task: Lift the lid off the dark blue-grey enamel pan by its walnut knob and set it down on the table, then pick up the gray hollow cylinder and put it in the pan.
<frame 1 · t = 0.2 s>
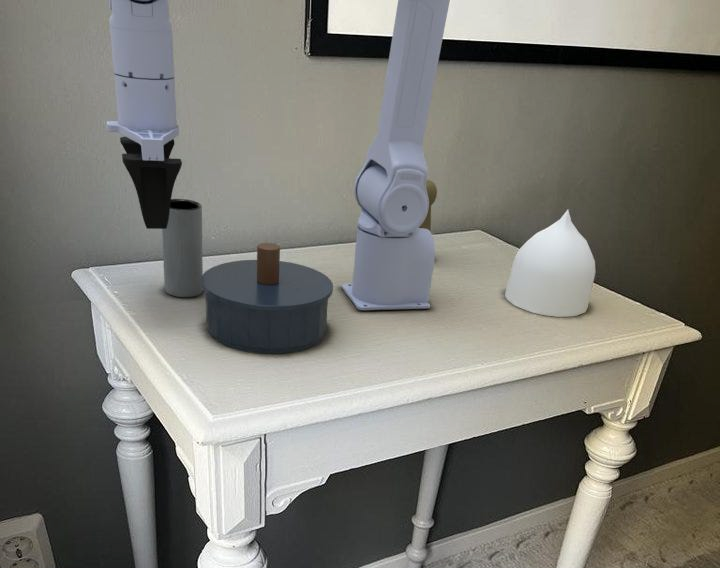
hand: (154, 217, 80), 10 cm above the table, tool pointing down, fingers open, 7 cm apart
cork: (409, 258, 109), on the table
gray hollow cylinder: (183, 292, 90), on the table, touching gripper
pan: (267, 328, 83), on the table
teardrop: (545, 302, 99), on the table
pan lid: (267, 285, 80), point 5 cm above the table, touching pan
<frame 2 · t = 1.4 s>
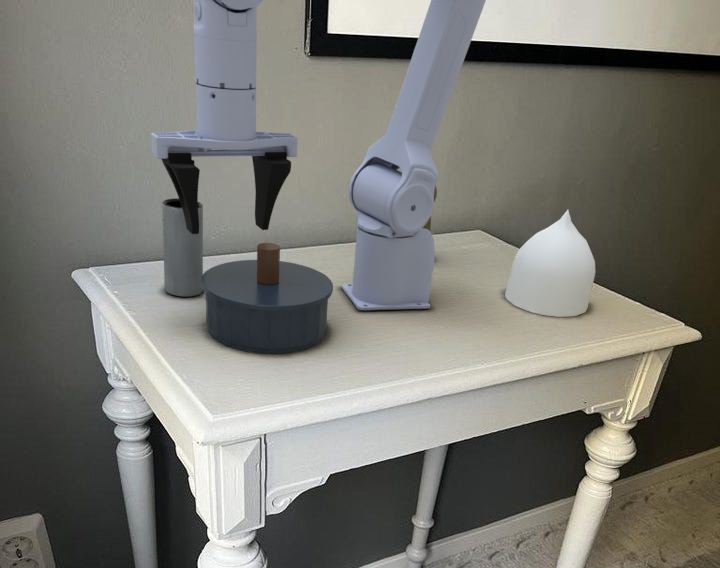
hand: (228, 229, 78), 10 cm above the table, tool pointing down, fingers open, 7 cm apart
gray hollow cylinder: (183, 292, 90), on the table
everything else where it was.
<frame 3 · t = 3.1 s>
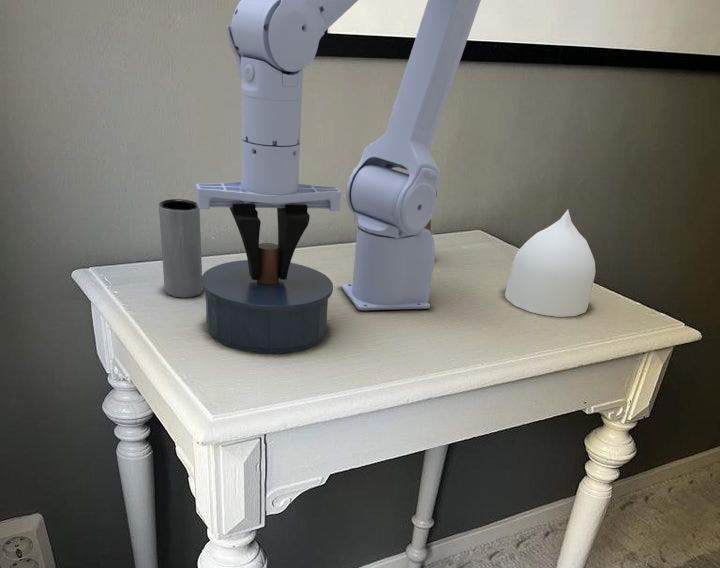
hand: (268, 276, 79), 6 cm above the table, tool pointing down, fingers closed on pan lid, 2 cm apart
pan lid: (267, 285, 80), point 5 cm above the table, touching gripper, pan
everything else where it was.
when the fingers open (2 cm above the table, at t = 7.8 s): pan lid stays where it is, point 1 cm above the table.
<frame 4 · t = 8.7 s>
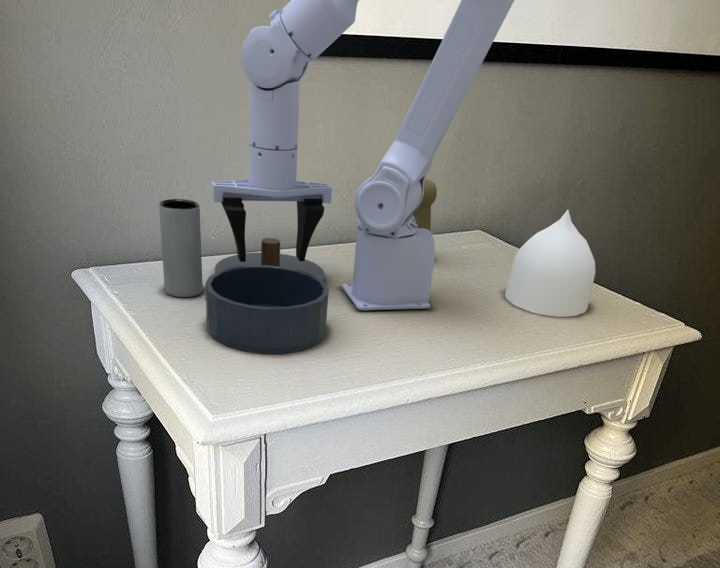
hand: (271, 259, 95), 3 cm above the table, tool pointing down, fingers open, 7 cm apart
pan lid: (270, 273, 96), point 1 cm above the table
everything else where it was.
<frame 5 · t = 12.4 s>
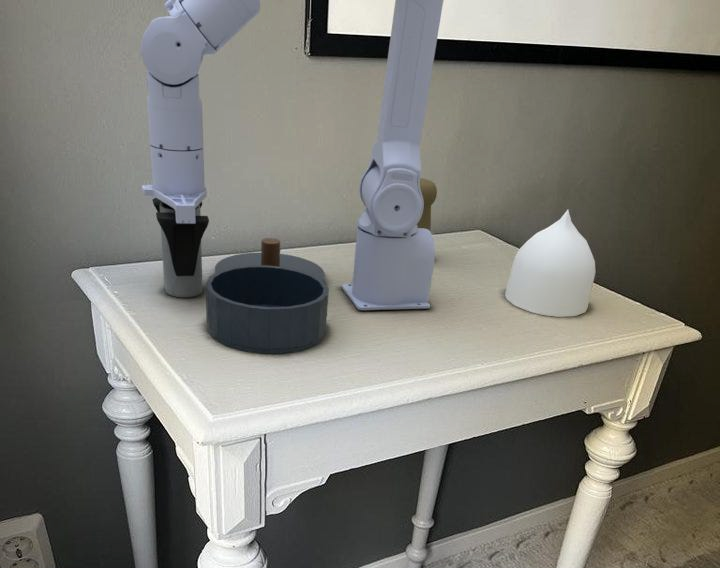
hand: (182, 267, 88), 3 cm above the table, tool pointing down, fingers closed on gray hollow cylinder, 4 cm apart
gray hollow cylinder: (183, 292, 90), on the table, touching gripper
everything else where it was.
when the fingers open (3 cm above the table, at t = 17.8 s): gray hollow cylinder stays where it is, resting on pan.
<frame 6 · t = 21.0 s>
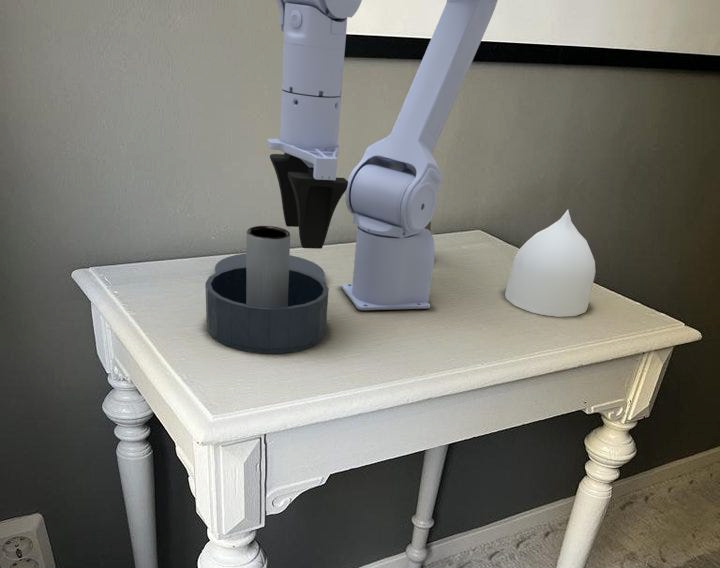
hand: (303, 236, 78), 10 cm above the table, tool pointing down, fingers open, 7 cm apart
gray hollow cylinder: (266, 326, 82), resting on pan
everything else where it was.
at the end: pan lid inside the target area (0.0 cm from its centre), point 0.6 cm above the table; gray hollow cylinder inside the target area in the pan (0.0 cm from its centre), point 0.3 cm above the pan's base; gray hollow cylinder tilted 0° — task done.
